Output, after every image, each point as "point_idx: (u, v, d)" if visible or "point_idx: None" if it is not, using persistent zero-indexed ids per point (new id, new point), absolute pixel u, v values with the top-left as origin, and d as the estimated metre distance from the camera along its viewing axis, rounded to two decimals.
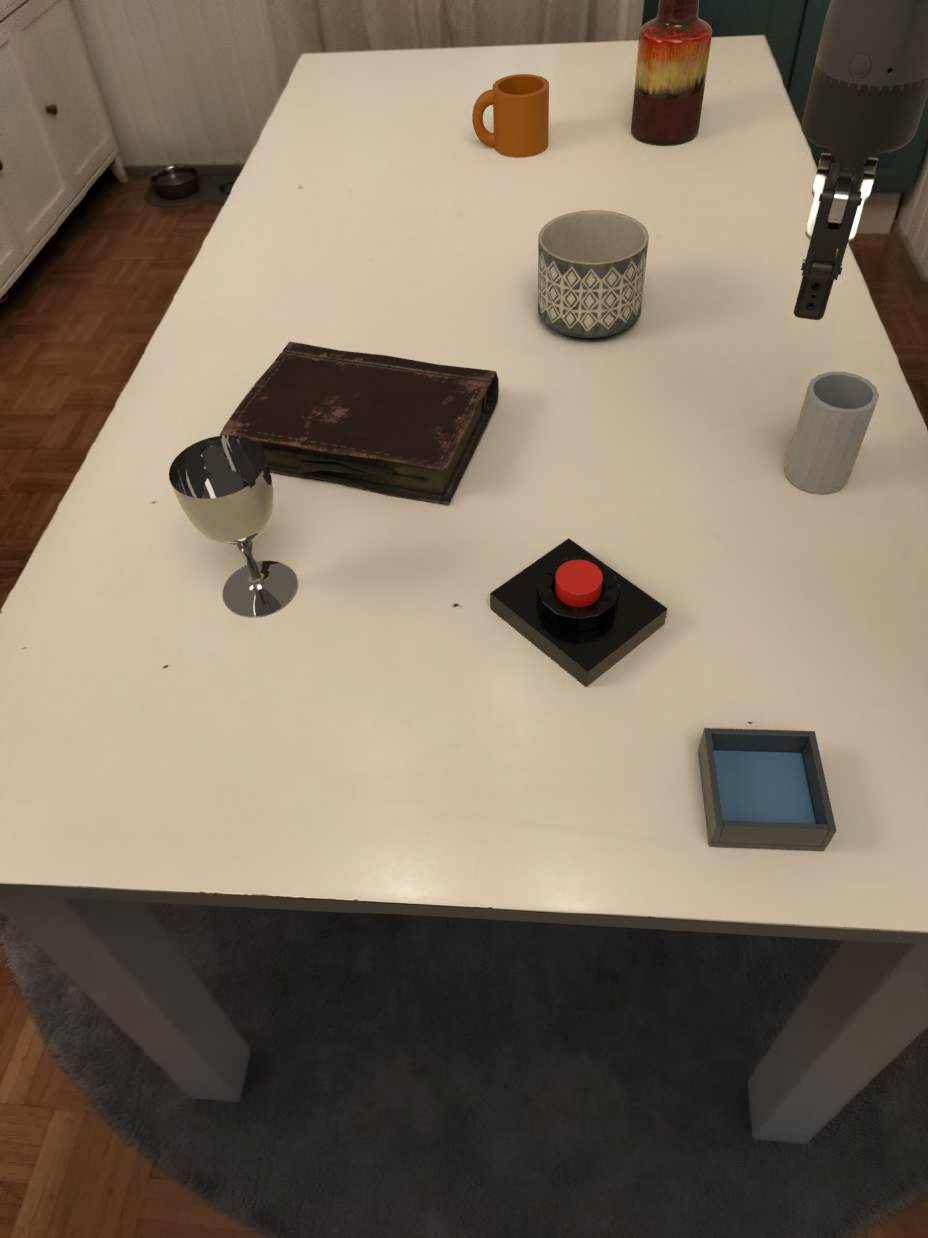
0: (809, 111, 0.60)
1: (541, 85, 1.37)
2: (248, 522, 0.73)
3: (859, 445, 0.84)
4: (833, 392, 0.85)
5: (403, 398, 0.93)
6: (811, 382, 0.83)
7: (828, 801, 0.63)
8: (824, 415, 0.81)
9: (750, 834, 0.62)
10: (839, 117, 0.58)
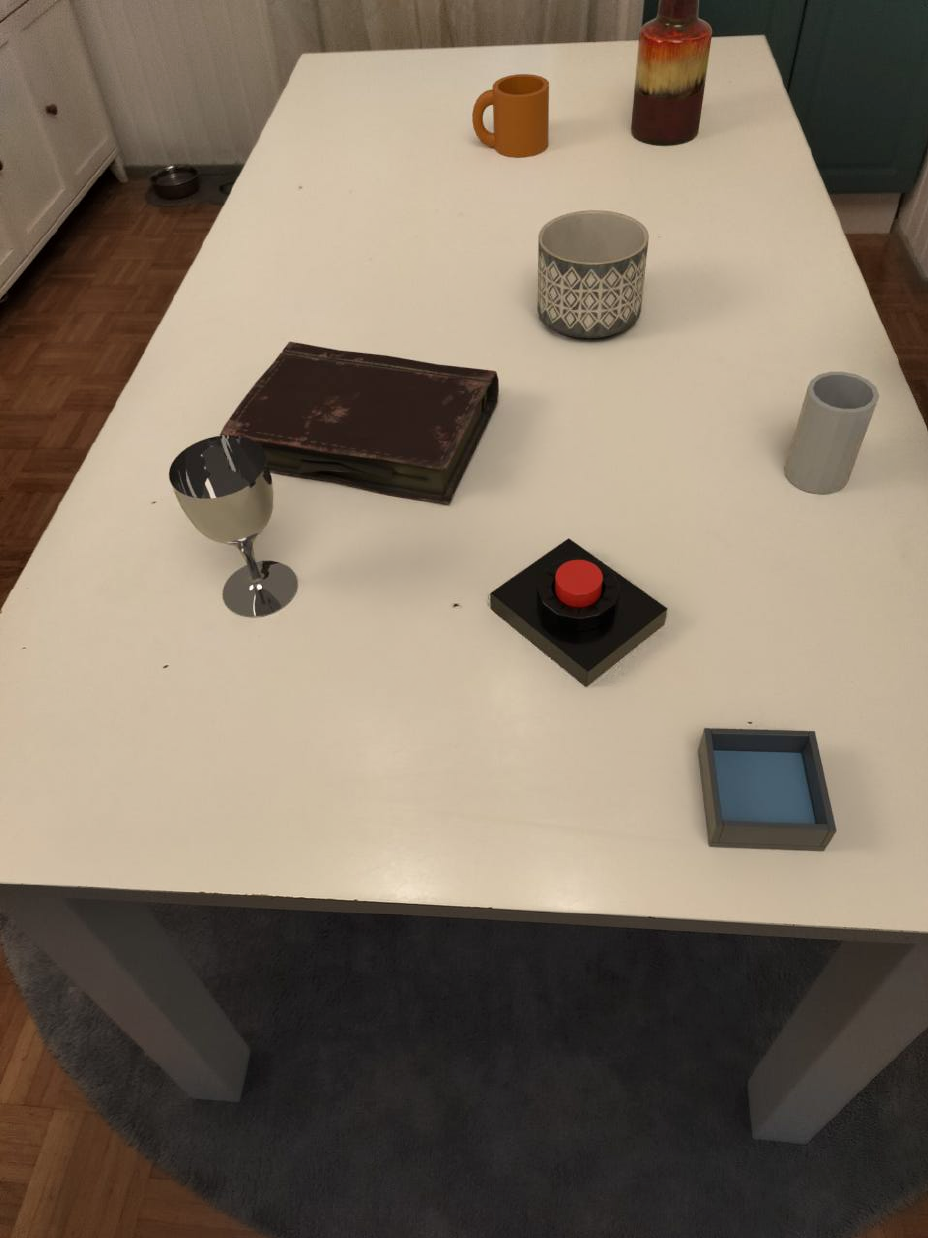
0: None
1: (541, 85, 1.37)
2: (248, 522, 0.73)
3: (859, 445, 0.84)
4: (833, 392, 0.85)
5: (403, 398, 0.93)
6: (811, 382, 0.83)
7: (828, 801, 0.63)
8: (824, 415, 0.81)
9: (750, 834, 0.62)
10: None
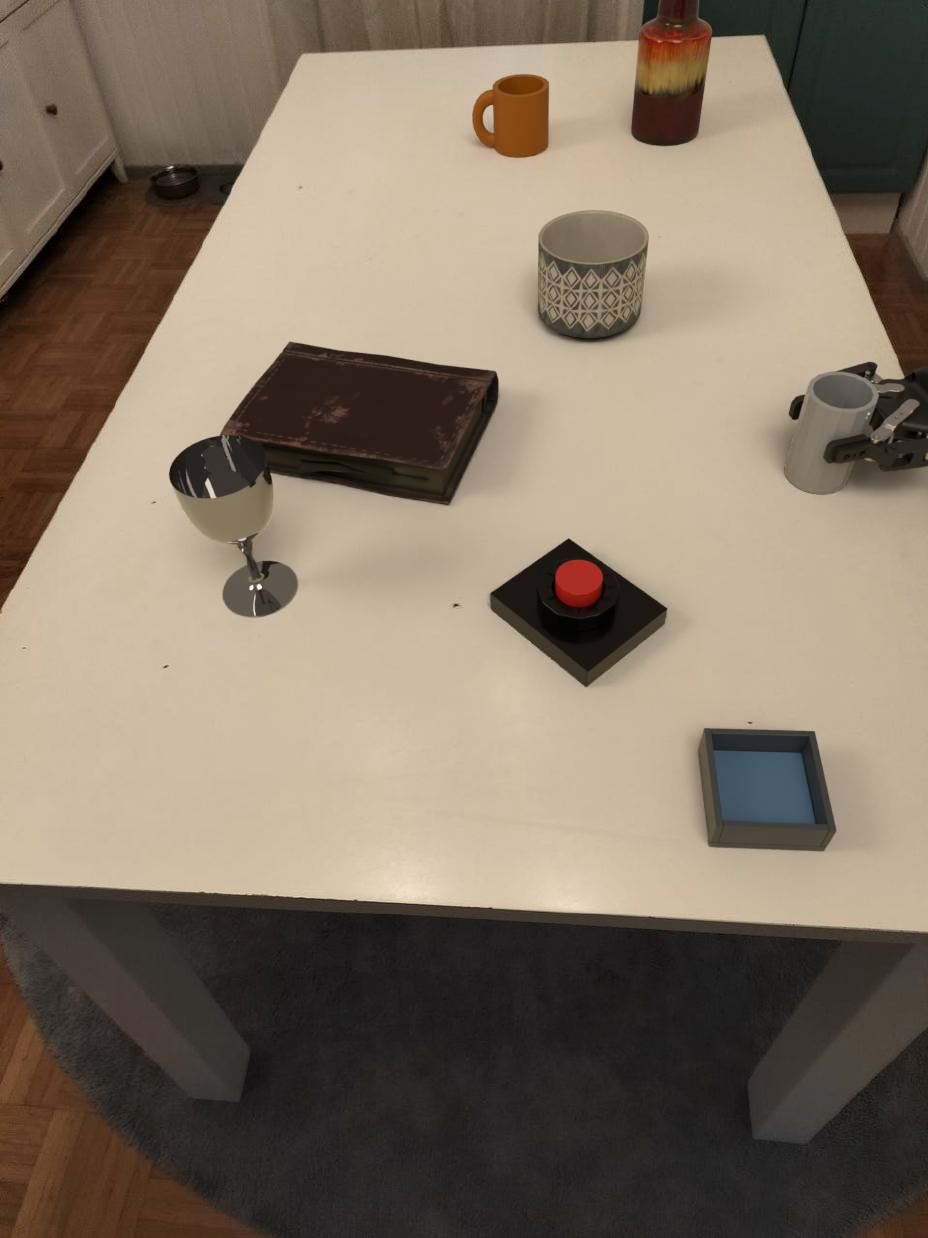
0: None
1: (541, 85, 1.37)
2: (248, 522, 0.73)
3: None
4: (833, 392, 0.85)
5: (403, 398, 0.93)
6: (811, 382, 0.83)
7: (828, 801, 0.63)
8: (824, 415, 0.81)
9: (750, 834, 0.62)
10: None
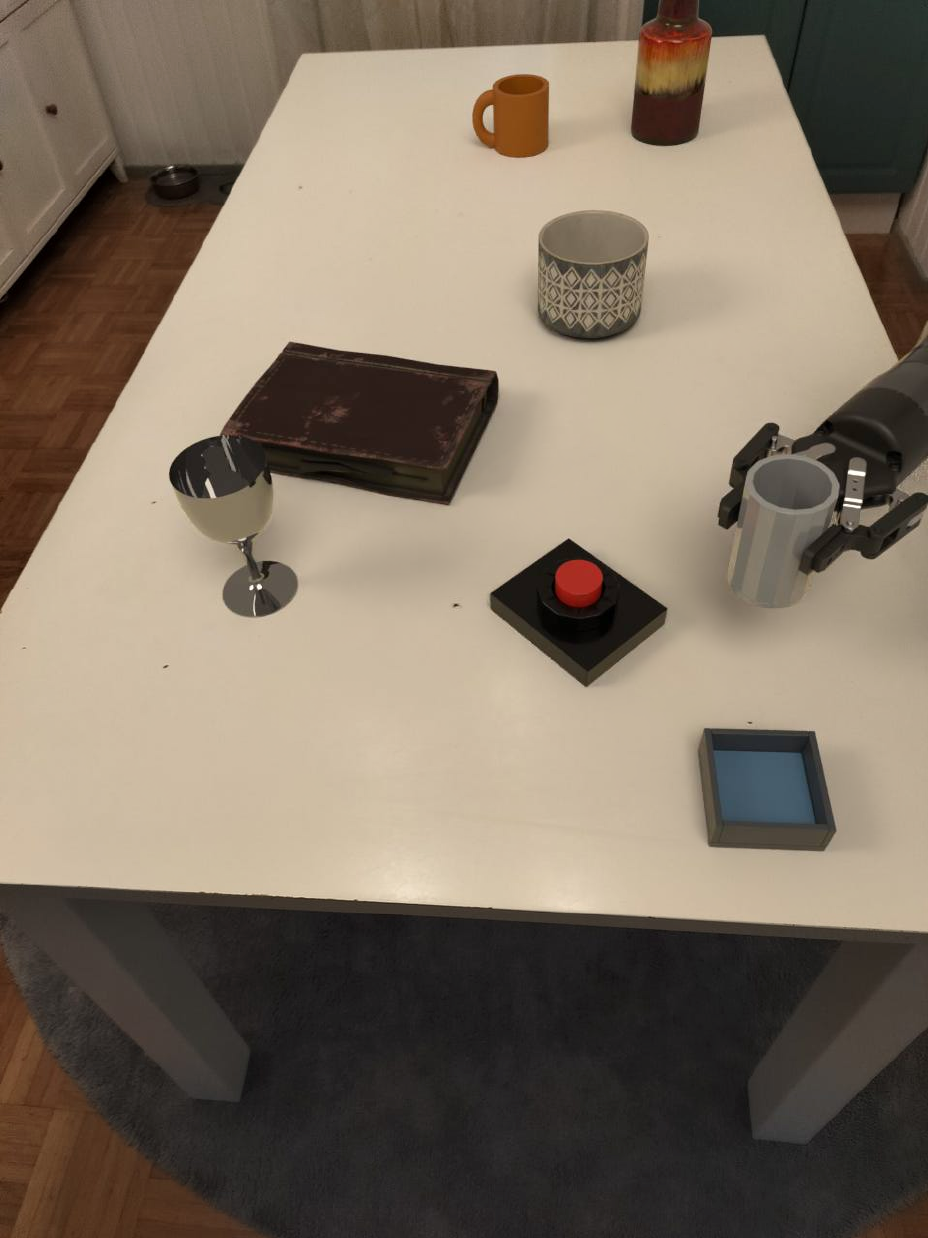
0: None
1: (541, 85, 1.37)
2: (248, 522, 0.73)
3: None
4: (765, 482, 0.65)
5: (403, 398, 0.93)
6: (748, 485, 0.62)
7: (828, 801, 0.63)
8: (789, 523, 0.60)
9: (750, 834, 0.62)
10: None
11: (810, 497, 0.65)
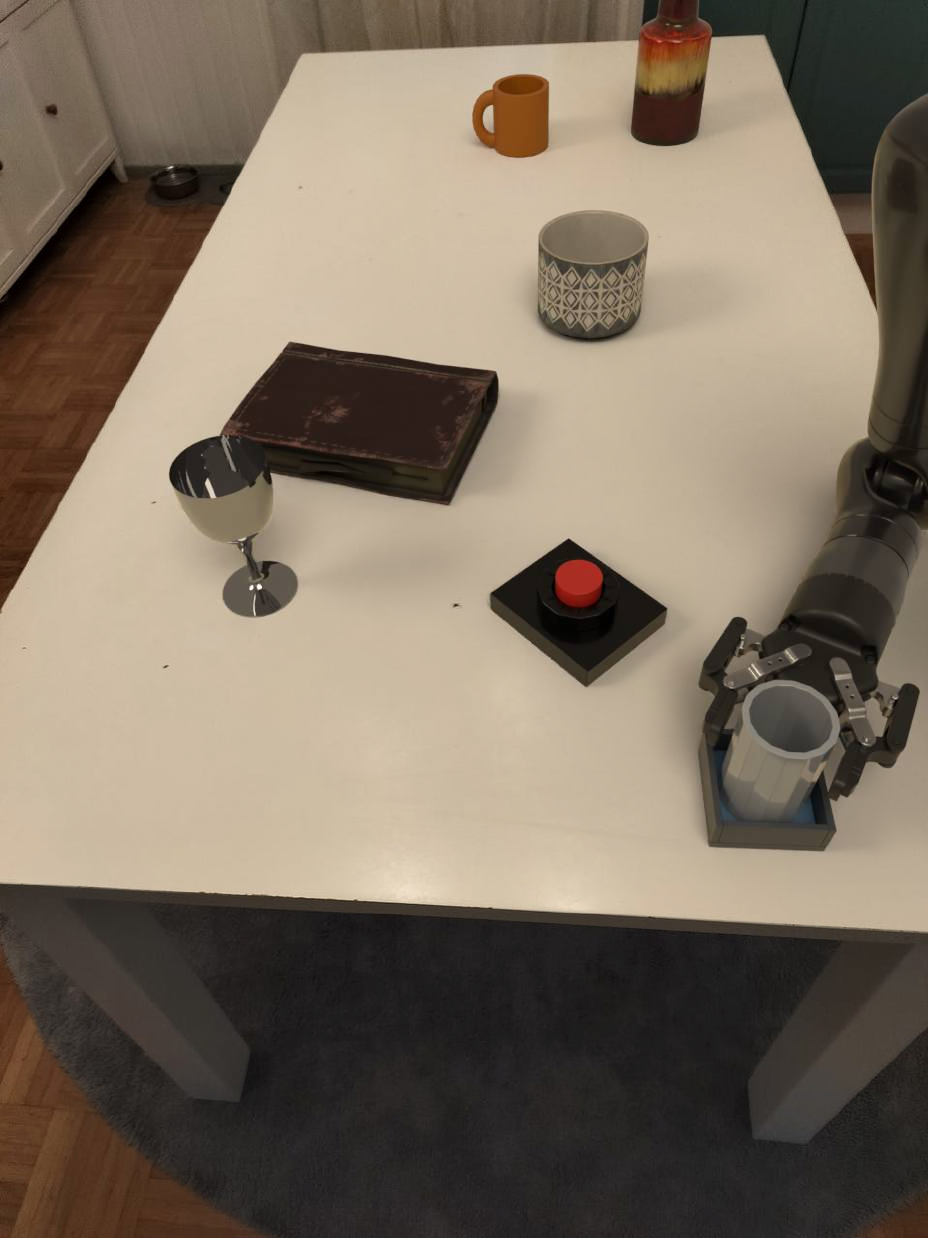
0: None
1: (541, 85, 1.37)
2: (248, 522, 0.73)
3: None
4: (754, 709, 0.61)
5: (403, 398, 0.93)
6: (748, 727, 0.58)
7: (828, 801, 0.63)
8: (800, 766, 0.57)
9: (750, 834, 0.62)
10: None
11: (799, 716, 0.62)
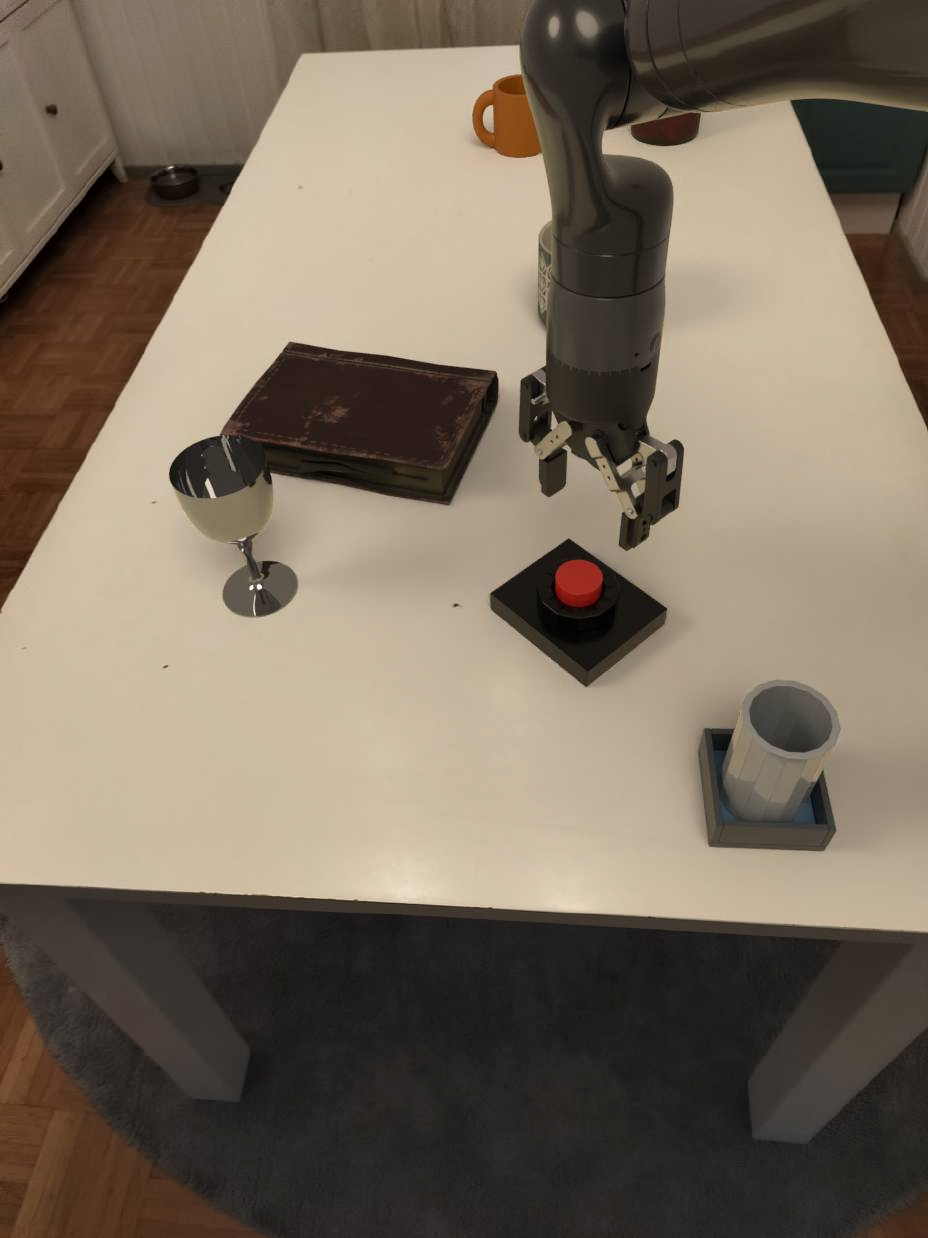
0: None
1: None
2: (248, 522, 0.73)
3: None
4: (754, 709, 0.61)
5: (403, 398, 0.93)
6: (748, 727, 0.58)
7: (828, 801, 0.63)
8: (800, 766, 0.57)
9: (750, 834, 0.62)
10: None
11: (799, 716, 0.62)
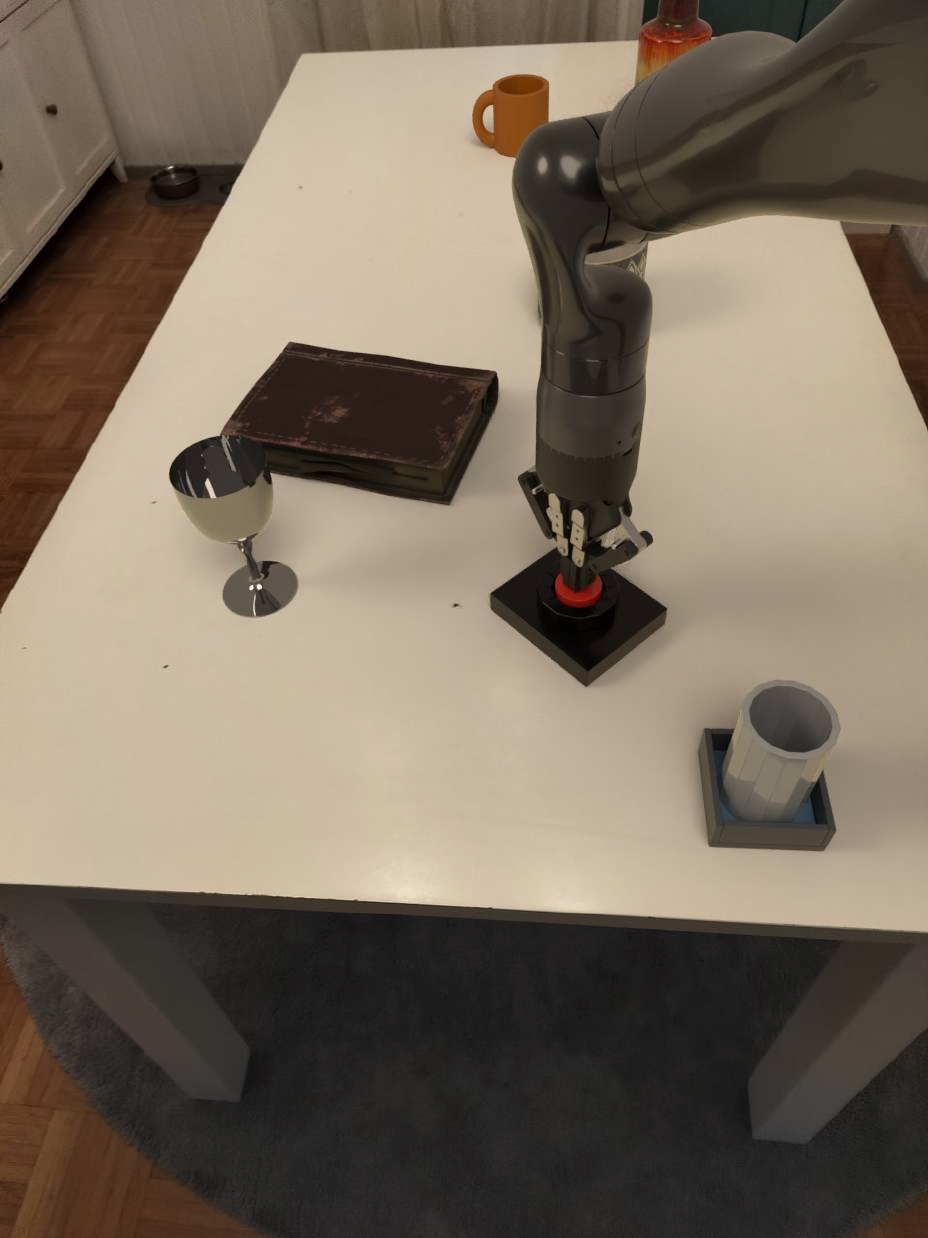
0: None
1: (541, 85, 1.37)
2: (248, 522, 0.73)
3: None
4: (754, 709, 0.61)
5: (403, 398, 0.93)
6: (748, 727, 0.58)
7: (828, 801, 0.63)
8: (800, 766, 0.57)
9: (750, 834, 0.62)
10: None
11: (799, 716, 0.62)
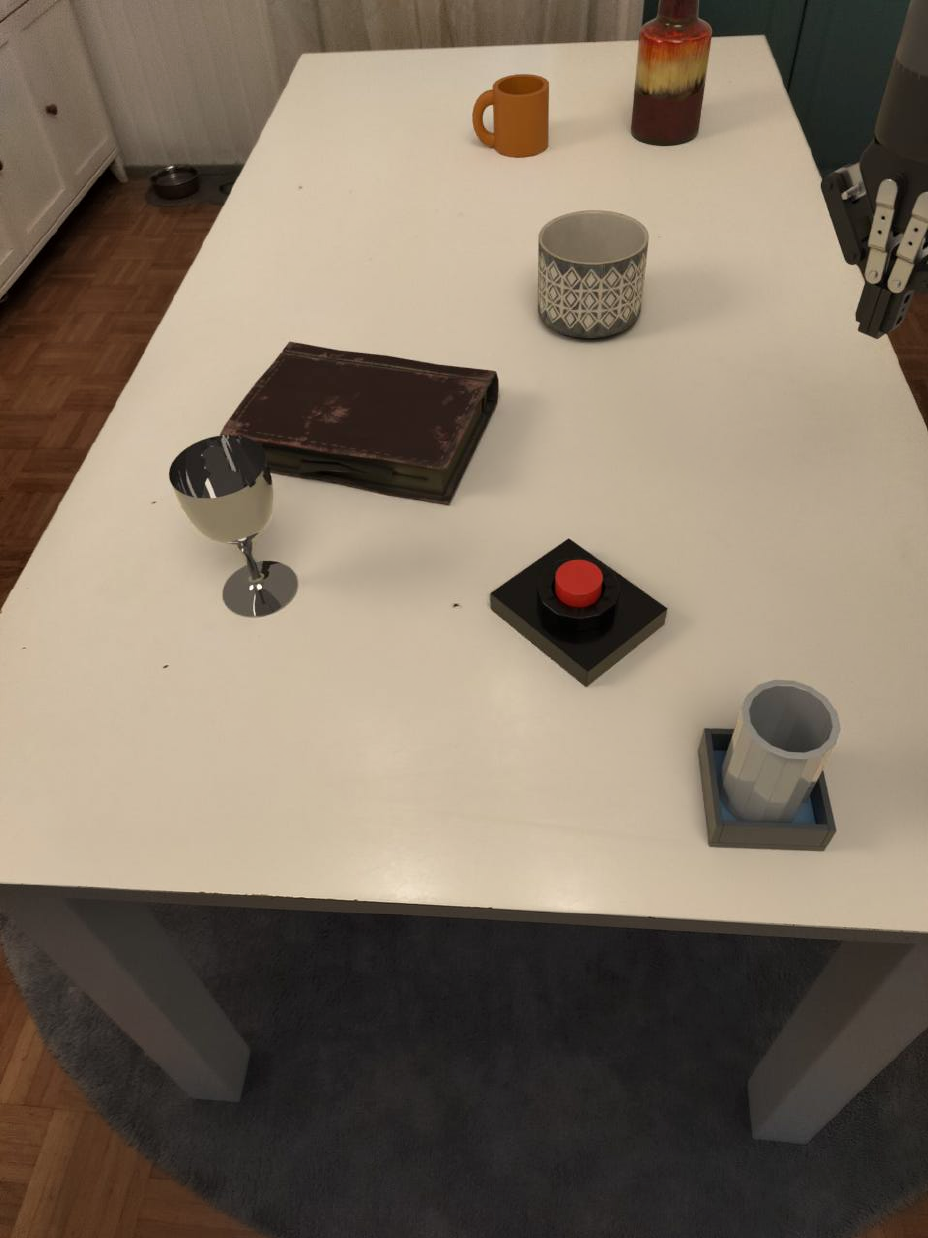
0: None
1: (541, 85, 1.37)
2: (248, 522, 0.73)
3: None
4: (754, 709, 0.61)
5: (403, 398, 0.93)
6: (748, 727, 0.58)
7: (828, 801, 0.63)
8: (800, 766, 0.57)
9: (750, 834, 0.62)
10: None
11: (799, 716, 0.62)
